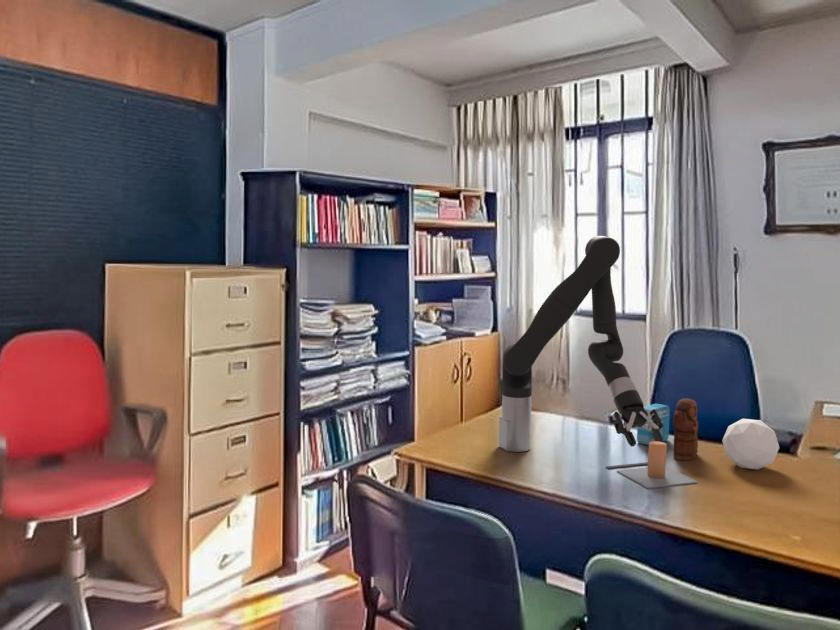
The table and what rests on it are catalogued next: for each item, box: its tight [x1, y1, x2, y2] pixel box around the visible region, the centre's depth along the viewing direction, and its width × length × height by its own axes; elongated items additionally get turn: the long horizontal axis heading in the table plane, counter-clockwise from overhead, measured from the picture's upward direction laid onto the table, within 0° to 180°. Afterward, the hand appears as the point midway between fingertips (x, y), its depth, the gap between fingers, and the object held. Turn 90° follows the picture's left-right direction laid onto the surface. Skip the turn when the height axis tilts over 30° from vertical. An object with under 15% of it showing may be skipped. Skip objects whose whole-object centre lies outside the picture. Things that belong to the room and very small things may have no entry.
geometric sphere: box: [721, 418, 780, 471], centre depth 194 cm, size 14×15×15 cm
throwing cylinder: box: [647, 441, 668, 479], centre depth 185 cm, size 5×5×9 cm
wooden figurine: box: [672, 397, 700, 461], centre depth 204 cm, size 12×6×18 cm, turn 146°
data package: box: [636, 403, 671, 446], centre depth 219 cm, size 12×4×12 cm, turn 129°
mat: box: [605, 461, 699, 490], centre depth 187 cm, size 18×18×1 cm
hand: (647, 444), depth 188 cm, fingers open, 8 cm apart
